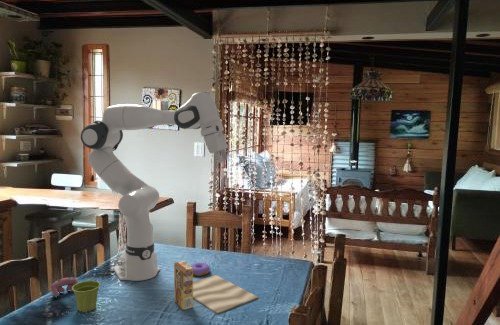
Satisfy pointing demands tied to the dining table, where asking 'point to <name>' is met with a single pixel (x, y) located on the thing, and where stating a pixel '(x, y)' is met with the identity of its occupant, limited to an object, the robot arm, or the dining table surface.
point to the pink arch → (62, 282)
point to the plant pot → (86, 295)
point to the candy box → (183, 285)
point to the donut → (200, 269)
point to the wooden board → (220, 294)
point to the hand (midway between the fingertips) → (223, 161)
